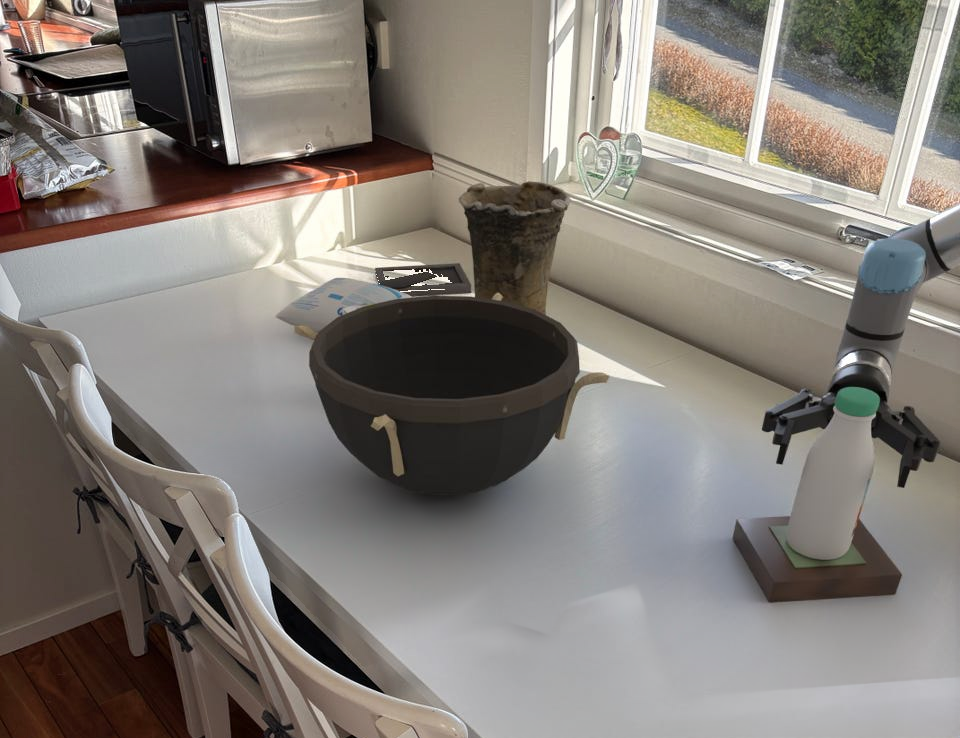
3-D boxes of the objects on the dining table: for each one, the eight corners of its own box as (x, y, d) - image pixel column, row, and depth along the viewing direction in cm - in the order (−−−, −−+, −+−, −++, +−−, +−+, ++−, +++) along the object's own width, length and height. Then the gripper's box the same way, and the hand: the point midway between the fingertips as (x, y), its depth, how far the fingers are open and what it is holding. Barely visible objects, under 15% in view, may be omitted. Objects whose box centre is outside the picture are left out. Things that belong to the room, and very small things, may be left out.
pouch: (363, 315, 163) (418, 275, 176) (271, 300, 169) (330, 262, 183) (368, 359, 168) (421, 317, 181) (278, 342, 174) (336, 303, 188)
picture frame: (382, 298, 190) (471, 292, 193) (382, 288, 189) (471, 282, 192) (375, 275, 200) (459, 270, 203) (374, 265, 199) (459, 261, 202)
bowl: (373, 573, 118) (362, 426, 105) (290, 447, 143) (274, 316, 130) (617, 511, 130) (634, 372, 117) (502, 404, 155) (506, 280, 142)
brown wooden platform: (848, 531, 127) (854, 510, 125) (895, 594, 116) (903, 573, 114) (732, 538, 125) (736, 517, 123) (769, 602, 115) (774, 581, 113)
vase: (471, 375, 163) (472, 209, 146) (451, 334, 177) (449, 178, 160) (572, 366, 166) (584, 203, 149) (544, 327, 180) (553, 173, 163)
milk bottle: (839, 568, 115) (887, 416, 102) (776, 549, 118) (815, 399, 105) (855, 538, 120) (902, 389, 107) (794, 520, 123) (833, 374, 110)
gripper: (950, 434, 123) (946, 515, 108) (756, 400, 131) (727, 472, 115) (970, 379, 119) (969, 456, 103) (767, 348, 126) (738, 415, 111)
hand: (841, 465), depth 109 cm, fingers open, 13 cm apart
